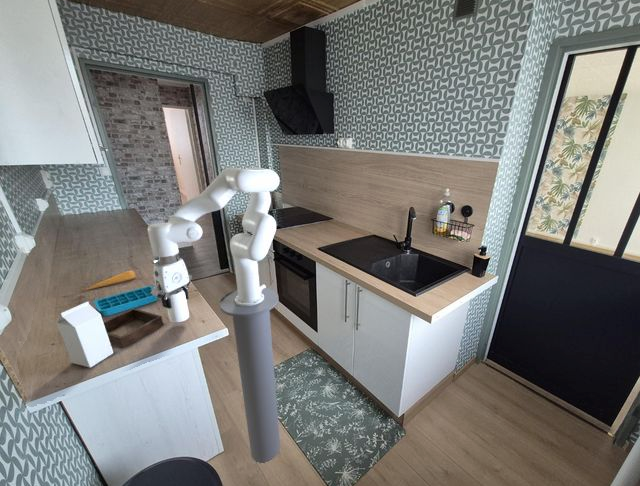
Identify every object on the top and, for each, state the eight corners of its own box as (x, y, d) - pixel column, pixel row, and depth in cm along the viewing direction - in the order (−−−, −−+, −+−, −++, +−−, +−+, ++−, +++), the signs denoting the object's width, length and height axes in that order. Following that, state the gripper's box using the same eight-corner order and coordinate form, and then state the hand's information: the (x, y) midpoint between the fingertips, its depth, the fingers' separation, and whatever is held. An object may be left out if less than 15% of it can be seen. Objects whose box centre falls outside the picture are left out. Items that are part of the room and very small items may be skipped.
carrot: (136, 277, 146) (131, 269, 145) (137, 277, 143) (133, 268, 142) (84, 295, 132) (79, 286, 131) (85, 295, 129) (80, 286, 128)
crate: (135, 316, 115) (133, 307, 114) (163, 324, 111) (161, 316, 110) (93, 337, 102) (90, 328, 101) (123, 348, 98) (120, 338, 97)
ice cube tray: (161, 300, 127) (159, 294, 126) (101, 318, 113) (98, 311, 111) (152, 291, 134) (151, 285, 133) (94, 307, 119) (92, 300, 118)
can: (182, 312, 115) (177, 285, 110) (193, 317, 112) (188, 289, 108) (165, 320, 109) (159, 292, 105) (176, 325, 107) (170, 296, 102)
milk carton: (113, 353, 96) (97, 303, 89) (90, 368, 89) (70, 315, 82) (96, 349, 97) (78, 299, 90) (72, 363, 90) (51, 311, 83)
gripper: (151, 269, 93) (162, 316, 100) (196, 252, 108) (203, 294, 115) (134, 265, 95) (146, 312, 102) (180, 249, 110) (188, 290, 117)
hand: (176, 302), depth 108 cm, fingers closed on can, 6 cm apart
